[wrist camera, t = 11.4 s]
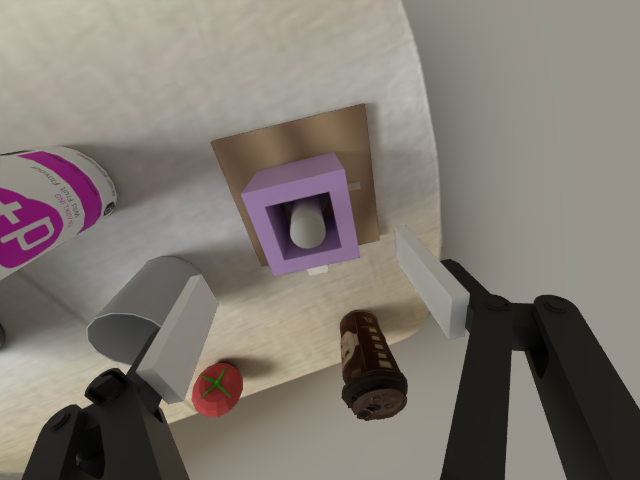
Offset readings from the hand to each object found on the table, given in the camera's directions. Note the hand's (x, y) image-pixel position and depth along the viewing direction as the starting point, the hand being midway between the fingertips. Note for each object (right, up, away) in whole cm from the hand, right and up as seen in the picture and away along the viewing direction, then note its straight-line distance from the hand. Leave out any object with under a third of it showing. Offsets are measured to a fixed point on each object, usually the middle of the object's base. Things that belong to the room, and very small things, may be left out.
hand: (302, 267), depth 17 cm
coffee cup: (+7, -12, +25) cm, 29 cm away
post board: (-1, +7, +13) cm, 15 cm away
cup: (-19, -4, +18) cm, 27 cm away
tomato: (-16, -21, +28) cm, 38 cm away
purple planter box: (0, +7, +12) cm, 14 cm away
